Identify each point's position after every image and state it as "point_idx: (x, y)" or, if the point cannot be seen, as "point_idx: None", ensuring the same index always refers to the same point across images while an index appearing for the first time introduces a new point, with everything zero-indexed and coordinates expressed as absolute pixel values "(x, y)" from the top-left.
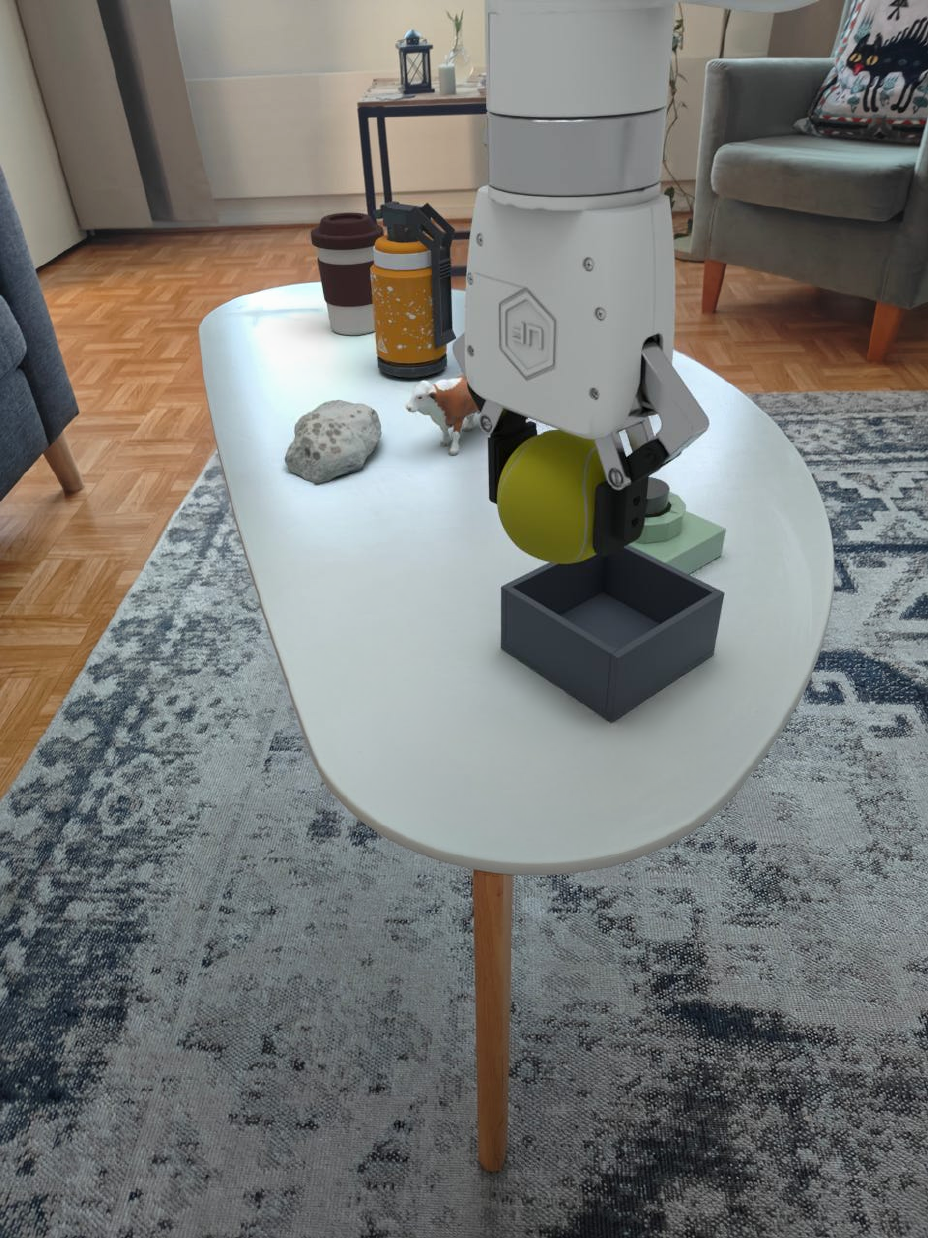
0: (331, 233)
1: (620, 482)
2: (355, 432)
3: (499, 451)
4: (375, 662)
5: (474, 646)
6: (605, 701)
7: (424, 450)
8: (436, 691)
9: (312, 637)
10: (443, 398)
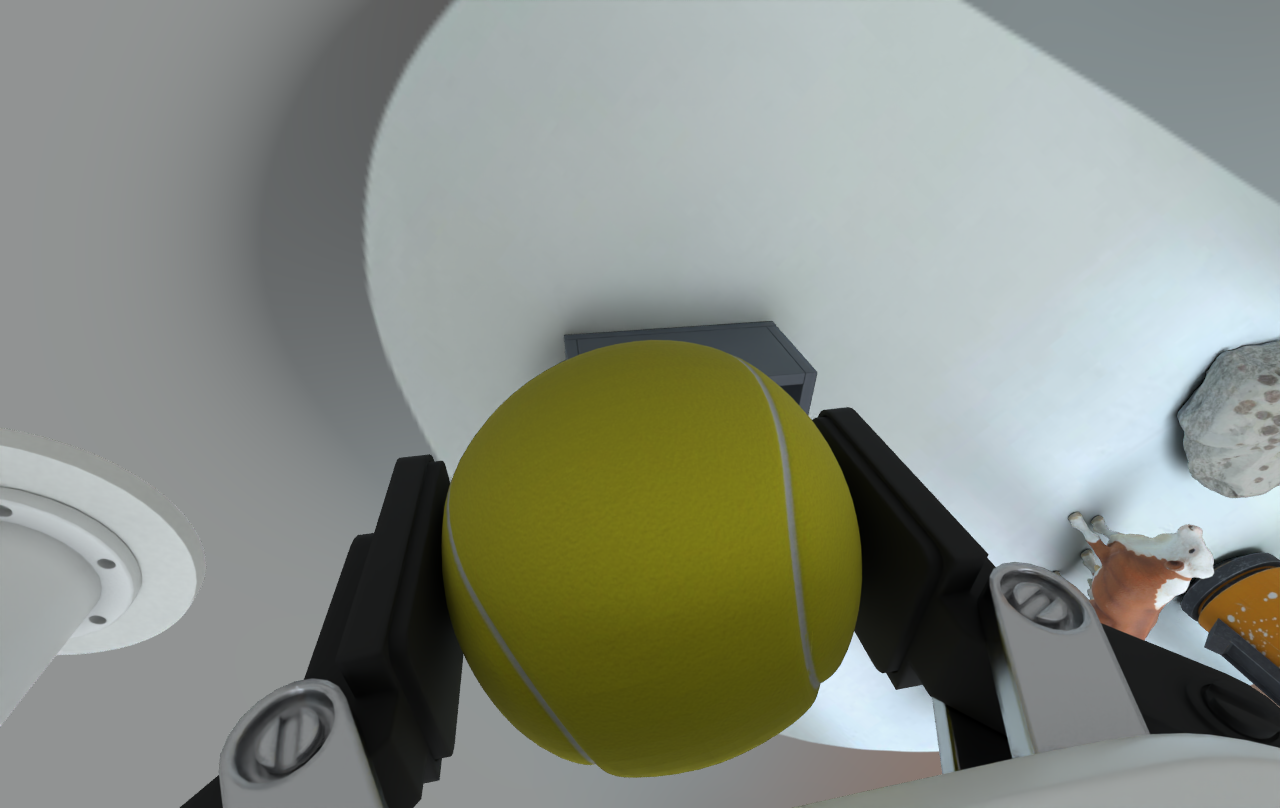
0: None
1: (267, 725)
2: (1237, 450)
3: (910, 537)
4: (896, 156)
5: (802, 296)
6: (579, 346)
7: (1113, 495)
8: (779, 189)
9: (1020, 112)
10: (1156, 570)
